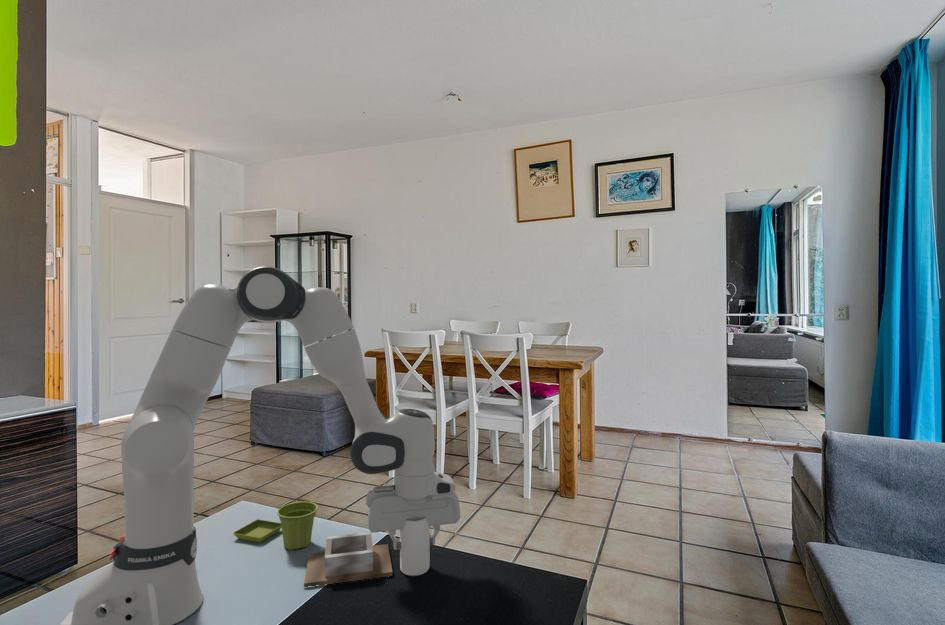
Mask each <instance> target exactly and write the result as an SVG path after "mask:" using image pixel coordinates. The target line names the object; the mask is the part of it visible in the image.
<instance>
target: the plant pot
mask: <svg viewBox="0 0 945 625" xmlns="http://www.w3.org/2000/svg"><path fill="white" fill-rule="evenodd" d="M318 508H319V506H318V504H317V503H314V502H312V501H295V502H291V503H287V504H285V505H282V506H281V507H279V508H278V509H277V512H276V513H277V516H278V517H279V521H280V523H281V526H282V528H281V532H282V540H283V545H284V548H285V549H287V550H291V549H296V550H299V549H300V548H303V549H304V548H306V547H308V546H310V544H311V541H312V540H311V539H312V536H313V534H312V533H313V526H314V520H315V516H316V512H317V511H318Z"/></svg>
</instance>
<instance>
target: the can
mask: <svg viewBox="0 0 945 625" xmlns="http://www.w3.org/2000/svg"><path fill="white" fill-rule="evenodd" d="M425 518H426V517H425ZM425 518H423V519H418V520H408V519H406V520H407V521H406V524H405V525H404V528H403V529H401V530H399V538H400V541H401V549H399V568H400V571H401V572H402V574H404V575H405V576H406V577H407V576H408V577H419V576H423V575H425V574H426V573H427V572H429V569H430V557H431V556H430V555H431V554H430V546H431V545H430V534H431V533H430V532H431V530H430V528H431V526H428V523H427V521H426V519H425Z"/></svg>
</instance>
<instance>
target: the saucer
mask: <svg viewBox="0 0 945 625" xmlns="http://www.w3.org/2000/svg"><path fill="white" fill-rule="evenodd" d="M280 530H282V526H281V522H276V521H272V520H270V521H269V520H264V519H256V520H255V519H254V520H253V521H252V522H250V523H248V524H246V525H245V526H243V527H240V528H239V529H237V530H236V531H234V532H233V533H232V534H233V535H234V536H235V537H236V539H239V540H242V541H243V540H244V541H250V542H255V543H256V542H257V543H262V542H264V541H265V540H267V539H268V538H270V537H272V536H273V535H275V534H276V533H278V532H279V531H280Z"/></svg>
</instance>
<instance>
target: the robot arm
mask: <svg viewBox="0 0 945 625" xmlns="http://www.w3.org/2000/svg"><path fill="white" fill-rule="evenodd" d="M282 321H285V322H287V323H290V324H291V325H292V326H293V327H294V328H295V330H296V331H297V333H298V336H299V338H300V340H301V342H302V345H303V347H304V351H305V352H306V355H307V357H308V360H309V361H310V363H311V365H312V366H313V368H314V369H315V371H316V372H317V374H318V375H320V377H322V378H324V379H326V380H328V381H329V382H331V383H332V384H334V385H335V386H336V387H337V388H338V390H339V391H340V393H341V394H342V396H343V399H344V402H345V403H346V405H347V408H348V410H349V413H350V415H351V417H352V419H353V422H354V438H353V440H352V444H351V447H350V451H349V453H350V456H349V457H350V459H351V463H352V465H353V466H354V467H355V469H357V470H358V471H359V472H361V473H363V474H367V475H376V474H382V473H387V472H390V471H394V473H393V474H394V475H393V476H394V479H393V480H394V484H391V485H385V486H374V487H373V488H372V489H370V490H368V492H367V493H366V498H365V501H366V502H365V503H366V506H367V508H368V512H367V529H368V530H369V532H371V533H373V534H374V533H380V532H381V533H382V532H388V535H389V537H390V539H391V541H392V545H393V550H395V551H396V550H400V549H401V541H400V537H396V531H400V530H401V529H403V528H404V525H405V524H406V521H407V520H406V519H408V520H418V519H423V518H425V517H426V518H425V519H426V521H427V523H428V526H430V527H432V530H431V531H432V532H431V533H430V546H435V545H436V537H437V536H438V534H439V532H440V530H441V526H442V525H453V524H457V523H458V522H460V519H461V506H460V500H459V497H458V495H457V493H456V483H455V482H454V479H453V478H452V477H451V476H450V475H449V474H446V473H443V472H439V471H435V464H434V454H435V449H436V447H435V444H436V443H435V442H436V441H435V428H434V422H433V419H432V417H431V416H430V415H429V414H428V413H426V412H425V411H422V410H419V409H413V408H403V409H399V410H398V411H397V412H396V413H395V414H393V415H392V416H390V417H389V418H388V417H387V416H386V415H385V414H384V413H383V412H382V410H381V409H380V407H379V406H378V403H377V401H376V398H375V397H374V393H373V392H372V389H371V386H370V385H369V384H370V383H369V382H368V379H367V377H366V373H365V367H364V361H363V359H364V358H363V355H362V350H361V346H360V342H359V339H358V335H357V332H356V330H355V328H354V324H353V322H352V321H351V318H350V315H349V314H348V312H347V310H346V308H345V307H344V304H343V303H342V302H341V300H340V298H339V297H338V295H337V293H335V291H334V290H332V289H330V288H327V287H322V286H321V287H320V286H319V287H318V286H317V287H311V288H309V289H305V287H304V286H302V285H301V284H300V283H299V282H298V281H296V280H295V278H293V277H291V276H290V275H289V274H287V272H285V271H283V270H281V269H280V268H277V267H274V266H268V265H267V266H265V265H263V266H258V267H255V268H252V269H251V270H249V271H247V272H246V273H245V274H244V275H243V276H242V277H241V278H240V280H239V282H238V284H237V286H236V287H227V286H225V285H220V284H213V283H211V284H204V285H201V286H199V287H197V288H196V289H195V291H193V293H192V294H191V296H190V297H189V298H188V300H187V302H186V303H185V305H184V306H183V308H182V309H181V311H180V313H179V315H178V316H177V318H176V320H175V322H174V323H173V326H172V329H171V330H170V333H169V335H168V337H167V339H166V341H165V343H164V346H163V348H162V350H161V352H160V354H159V357H158V359H157V361H156V363H155V366H154V368H153V369H152V373H151V374H150V377H149V379H148V382H147V383H146V386H145V388H144V389H143V392H142V395H141V396H140V399H139V401H138V404H137V406H136V407H135V409H134V412H133V414H132V416H131V419H130V421H129V422H128V425H127V428H126V429H125V431H124V433H123V435H122V438H121V442H120V444H121V445H120V446H121V448H120V449H121V470H122V486H123V493H124V494H123V496H124V533H123V535H121V537H120V538H119V539H118V542H117V544H115V545H114V546H113V549H112V551H111V552H110V553H109V560H108V561H111V560H113V562H111V563H110V564H109V565H107V566H106V567H105V568H104V569H103V570H101V571H100V572H99V573H98V574H96V575H95V576H94V577H93V578H91V580H89V582H88V583H86V584H85V586H84V587H83V588H82V589H81V590H80V592H79V594H78V596H77V598H76V600H75V603H74V607H73V610H71V612H69V613H68V614H67V616H66V617H65V618H63V620H62V621H61V623H59V625H175V624H177V623H179V622H181V621H184V620H185V619H186V618H188V617H189V616H191V615H192V614H193V613H195V612H196V611H197V610H198V609H199V608H200V607H201V605H202V604H203V601H204V594H203V592H202V589H201V586H200V583H199V578H198V573H197V566H196V565H197V564H196V557H197V552H198V537H197V529H196V526H194V525H195V524H194V523H195V522H194V519H195V518H194V514H195V513H194V511H195V510H194V488H195V486H194V483H195V482H194V480H195V478H194V476H195V475H194V473H195V472H194V471H195V467H194V466H195V465H194V464H195V461H194V460H195V453H194V452H195V451H194V450H195V436H194V434H195V433H194V431H195V426H196V424H197V422H198V420H199V417H200V415H201V413H202V411H203V410H204V408H205V405H206V403H207V401H208V399H209V397H210V395H211V394H212V392H213V390H214V389H215V387H216V385H217V382H218V379H219V377H220V376H221V373H222V370H223V368H224V366H225V364H226V361H227V358H228V356H229V355H230V351H231V349H232V347H233V344H234V342H235V339H236V337H237V336H238V333H239V331H240V330H241V329H242V327H243V326H244V325H245V324H246V323H260V324H274V323H278V322H282Z"/></svg>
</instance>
